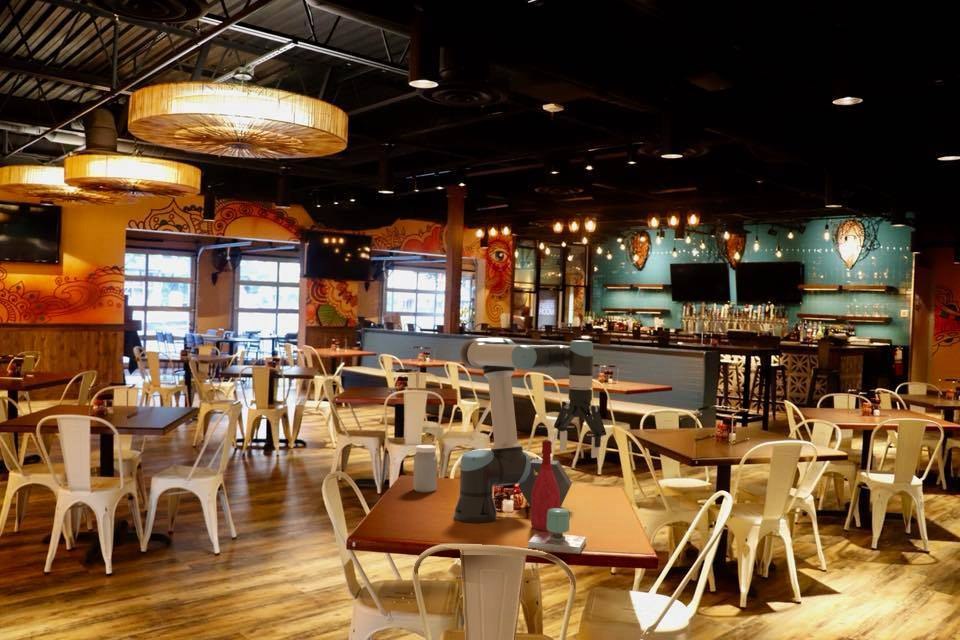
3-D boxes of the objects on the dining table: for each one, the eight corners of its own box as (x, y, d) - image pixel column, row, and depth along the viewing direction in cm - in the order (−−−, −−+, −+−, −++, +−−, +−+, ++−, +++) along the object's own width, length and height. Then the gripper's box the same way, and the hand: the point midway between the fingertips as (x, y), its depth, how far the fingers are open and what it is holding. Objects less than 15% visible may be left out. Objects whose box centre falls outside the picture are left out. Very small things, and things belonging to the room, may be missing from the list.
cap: (571, 532, 246) (571, 513, 246) (550, 532, 245) (551, 513, 245) (564, 526, 252) (565, 507, 252) (544, 527, 251) (545, 508, 251)
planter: (579, 495, 298) (551, 448, 301) (577, 500, 291) (548, 451, 293) (542, 517, 302) (514, 469, 304) (539, 522, 294) (510, 473, 297)
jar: (410, 492, 318) (411, 447, 318) (416, 487, 328) (417, 443, 328) (433, 493, 316) (435, 448, 316) (439, 488, 326) (440, 445, 326)
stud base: (528, 548, 245) (529, 516, 245) (536, 537, 257) (537, 507, 257) (579, 553, 241) (580, 521, 240) (585, 543, 252) (586, 512, 252)
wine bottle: (551, 533, 262) (554, 443, 262) (525, 528, 267) (527, 440, 267) (564, 526, 271) (566, 439, 271) (538, 522, 276) (540, 437, 276)
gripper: (618, 391, 247) (616, 458, 247) (559, 384, 266) (558, 447, 266) (603, 392, 242) (601, 461, 242) (544, 385, 261) (542, 449, 261)
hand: (578, 454), depth 254 cm, fingers open, 13 cm apart
